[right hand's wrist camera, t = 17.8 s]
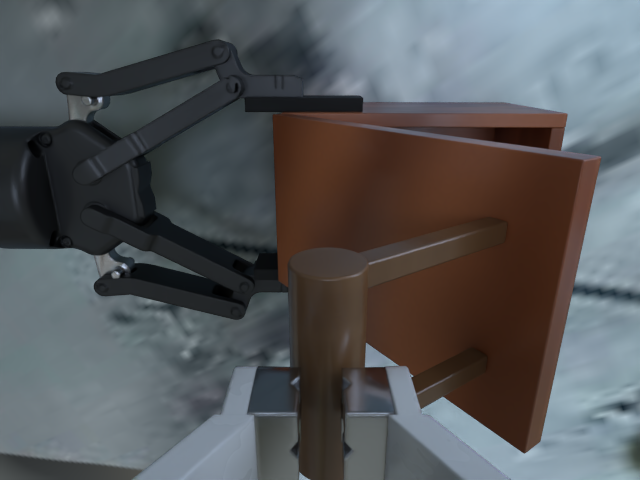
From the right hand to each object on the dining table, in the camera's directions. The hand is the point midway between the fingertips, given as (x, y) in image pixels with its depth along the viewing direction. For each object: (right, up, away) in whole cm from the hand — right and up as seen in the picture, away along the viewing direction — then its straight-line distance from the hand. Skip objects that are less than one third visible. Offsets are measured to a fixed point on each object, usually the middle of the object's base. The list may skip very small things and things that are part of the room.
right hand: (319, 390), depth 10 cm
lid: (+3, +3, +9) cm, 10 cm away
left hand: (+2, +6, +18) cm, 19 cm away
